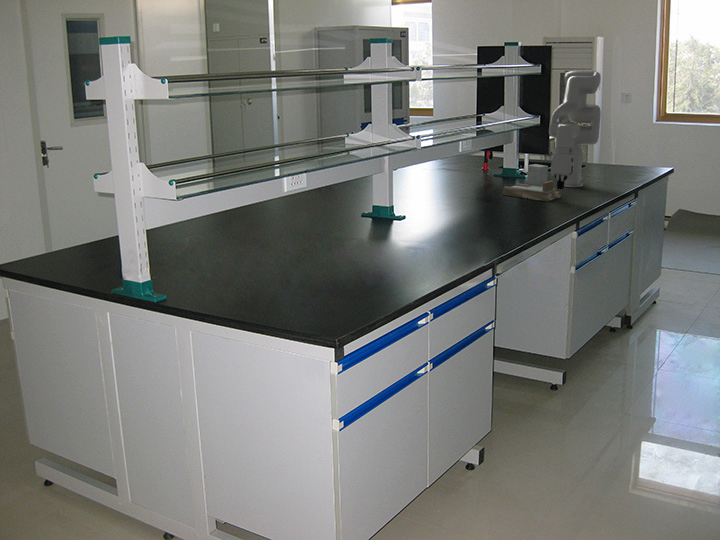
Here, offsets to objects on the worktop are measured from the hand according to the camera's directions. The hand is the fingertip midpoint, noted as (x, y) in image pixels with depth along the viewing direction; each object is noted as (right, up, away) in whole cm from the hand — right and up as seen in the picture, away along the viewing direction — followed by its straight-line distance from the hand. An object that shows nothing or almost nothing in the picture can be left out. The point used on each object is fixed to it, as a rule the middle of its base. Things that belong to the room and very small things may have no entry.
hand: (560, 188), depth 362 cm
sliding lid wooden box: (-11, -2, +11) cm, 16 cm away
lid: (-8, 0, +8) cm, 11 cm away
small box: (-6, +1, +24) cm, 25 cm away
